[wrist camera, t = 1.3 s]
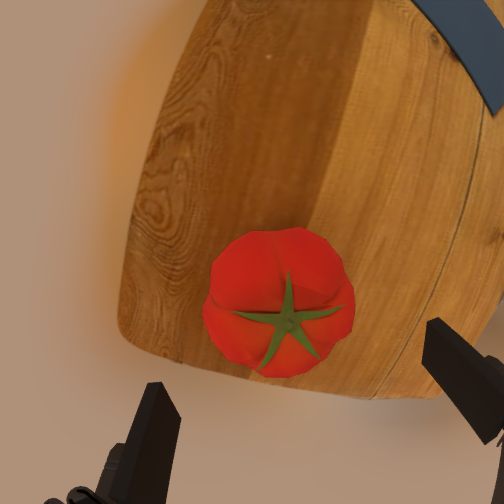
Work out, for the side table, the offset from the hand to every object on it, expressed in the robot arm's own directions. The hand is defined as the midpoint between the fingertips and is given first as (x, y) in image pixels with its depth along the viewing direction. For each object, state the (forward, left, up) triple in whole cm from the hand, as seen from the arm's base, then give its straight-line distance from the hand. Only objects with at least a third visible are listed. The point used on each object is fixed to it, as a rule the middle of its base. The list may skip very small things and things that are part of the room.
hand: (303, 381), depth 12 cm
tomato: (0, 0, -12) cm, 12 cm away
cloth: (-7, +38, -12) cm, 41 cm away
